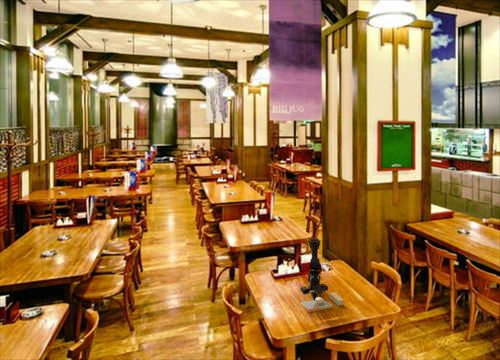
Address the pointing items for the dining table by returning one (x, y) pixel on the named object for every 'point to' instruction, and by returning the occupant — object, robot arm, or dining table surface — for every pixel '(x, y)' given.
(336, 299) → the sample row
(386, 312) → the dining table surface
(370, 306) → the dining table surface
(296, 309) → the dining table surface
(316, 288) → the robot arm
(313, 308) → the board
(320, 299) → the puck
